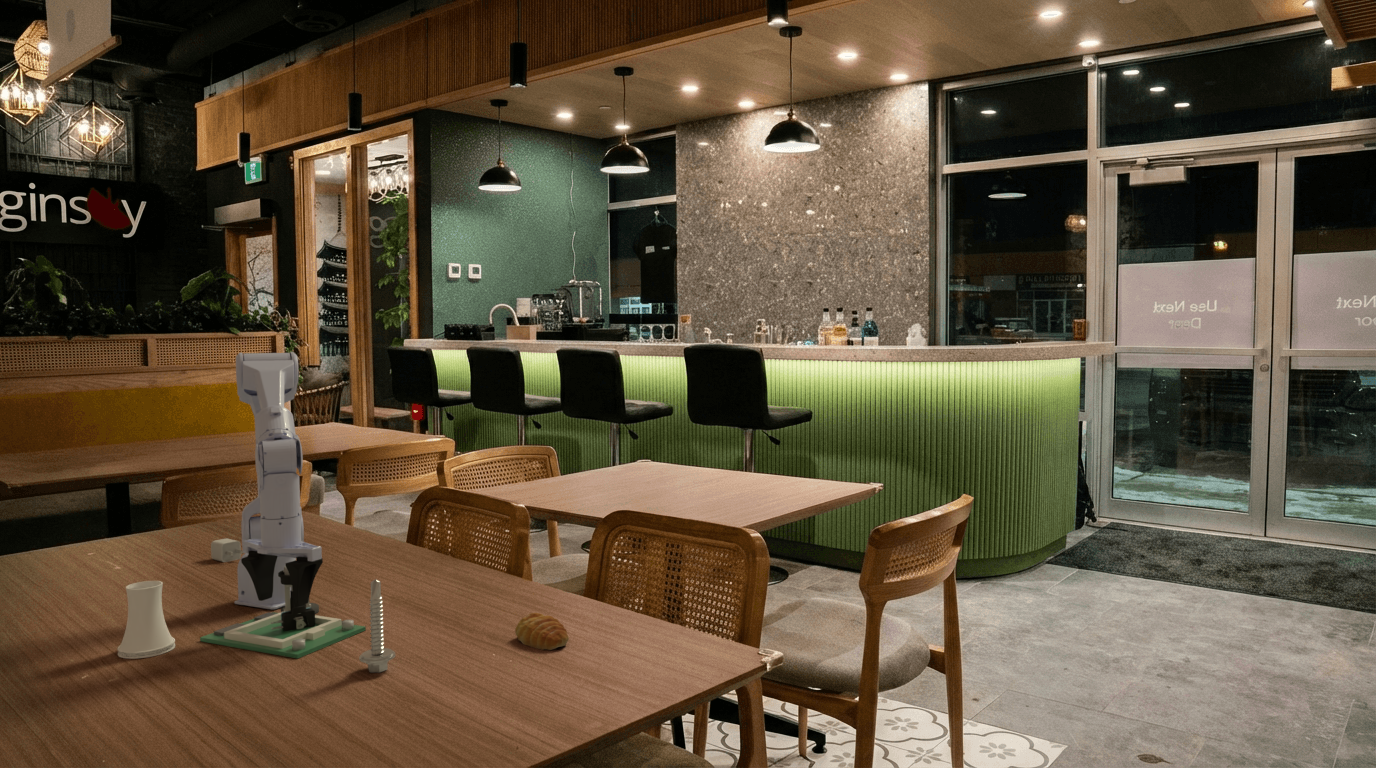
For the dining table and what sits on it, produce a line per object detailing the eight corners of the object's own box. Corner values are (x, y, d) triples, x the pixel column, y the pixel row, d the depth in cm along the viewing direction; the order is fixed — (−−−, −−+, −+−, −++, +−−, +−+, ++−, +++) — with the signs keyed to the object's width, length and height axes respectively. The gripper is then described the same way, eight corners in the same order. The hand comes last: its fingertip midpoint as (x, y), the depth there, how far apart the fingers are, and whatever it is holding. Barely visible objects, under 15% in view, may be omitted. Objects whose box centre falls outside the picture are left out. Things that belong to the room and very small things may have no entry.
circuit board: (200, 641, 145) (199, 629, 145) (272, 615, 158) (272, 605, 158) (297, 658, 137) (297, 646, 137) (365, 630, 150) (365, 619, 150)
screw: (403, 667, 133) (375, 678, 129) (380, 661, 136) (352, 671, 132) (400, 577, 132) (373, 585, 128) (377, 572, 135) (349, 580, 131)
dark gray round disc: (272, 617, 158) (272, 610, 158) (300, 608, 163) (300, 601, 163) (299, 622, 156) (299, 614, 155) (326, 611, 161) (326, 605, 161)
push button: (275, 636, 145) (273, 573, 144) (267, 627, 149) (265, 566, 149) (320, 628, 149) (318, 566, 148) (310, 620, 153) (309, 559, 153)
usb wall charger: (230, 556, 200) (229, 537, 200) (247, 560, 196) (246, 541, 196) (211, 560, 197) (210, 541, 197) (228, 564, 193) (228, 545, 193)
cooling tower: (115, 662, 136) (112, 594, 135) (119, 646, 143) (116, 582, 142) (174, 653, 140) (172, 587, 139) (175, 639, 146) (173, 575, 146)
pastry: (580, 646, 143) (579, 621, 142) (541, 656, 138) (541, 631, 138) (547, 631, 150) (547, 607, 150) (510, 640, 146) (509, 616, 145)
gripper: (225, 517, 146) (228, 603, 146) (295, 524, 140) (298, 614, 141) (262, 509, 152) (264, 591, 153) (330, 515, 146) (333, 601, 147)
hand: (283, 601), depth 147 cm, fingers open, 7 cm apart
